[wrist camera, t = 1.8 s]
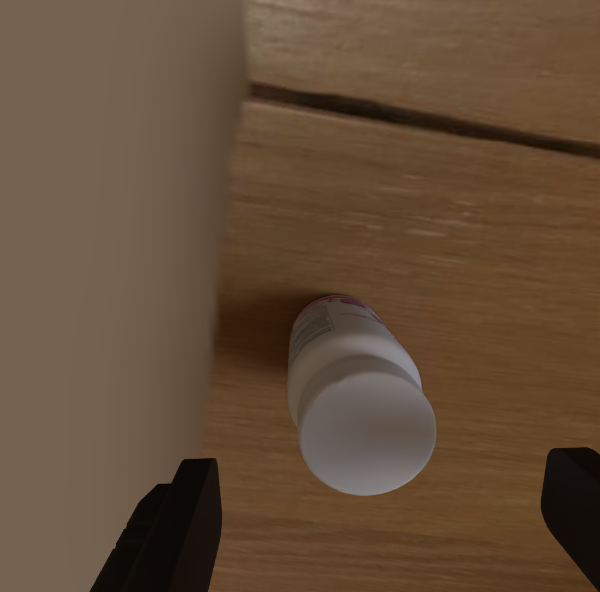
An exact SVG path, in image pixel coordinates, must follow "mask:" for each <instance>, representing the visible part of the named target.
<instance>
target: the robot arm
mask: <svg viewBox="0 0 600 592" xmlns="http://www.w3.org/2000/svg"><path fill="white" fill-rule="evenodd" d="M541 511H542V515H543V518H544V520H545V523H546V525H547V527H548V529H549V530H550V532H551V533H552V535H553V536H554V537H555V538H556V540H557V541H558V542H559V543H560V545H561V546H562V547H563V548H564V549H565V551H566V552H567V553H568V554H569V556H570V557H571V558H572V559H573V561H574V562H575V563H576V564H577V566H578V567H579V568H580V569H581V571H582V572H583V573H584V574H585V575H586V577H587V578H588V579H589V580H590V582H591V583H592V584H593V585H594V587H595V588H596V589H597V590H598V592H600V454H598V453H597V452H596V451H594V450H593V449H590V448H587V447H580V448H554V449H552V450H550V451H549V453H548V456H547V462H546V469H545V476H544V483H543V490H542V496H541ZM221 528H222V507H221V496H220V486H219V475H218V465H217V461H216V459H215V458H205V459H184V460H183V461H182V462H181V464H180V466H179V468H178V470H177V472H176V474H175V477H174V479H173V481H172V483H171V484H157V485H156V486H155V487H154V488H153V489H152V490H151V491H150V492H149V493H148V494H147V495H146V496H145V497H144V498H143V499H142V500H141V501H140V502H139V503H138V505H137V507H136V509H135V510H134V512H133V514H132V516H131V518H130V519H129V521H128V523H127V527H126V529H124V530H123V532H122V534H121V536H120V537H119V539H118V541H117V543H116V548H115V549H113V550H112V552H111V554H110V556H109V557H108V559H107V561H106V563H105V565H104V567H103V568H102V570H101V572H100V574H99V576H98V577H97V579H96V581H95V583H94V585H93V586H92V588H91V590H90V592H208V589H209V585H210V580H211V576H212V572H213V568H214V564H215V559H216V555H217V551H218V547H219V542H220V536H221Z"/></svg>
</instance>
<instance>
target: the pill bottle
mask: <svg viewBox="0 0 600 592" xmlns="http://www.w3.org/2000/svg"><path fill="white" fill-rule="evenodd" d="M287 400H288V406H289V411H290V414H291V417H292V419H293V421H294V423H295V425H296V427H297V428H298V442H299V447H300V451H301V454H302V457H303V459H304V461H305V463H306V465H307V466H308V468H309V469H310V470H311V472H312V473H313V474H314V475H315V476H316V477H317V478H318V479H319V480H321V481H322V482H323V483H325V484H326V485H328V486H329V487H331V488H334V489H336V490H338V491H341V492H344V493H348V494H352V495H362V496H365V495H377V494H381V493H386V492H389V491H392V490H394V489H397V488H399V487H401V486H403V485H404V484H406V483H407V482H409V481H410V480H411V479H413V478H414V477H415V476H416V475H417V474H418V473H419V472H420V471H421V470H422V469H423V468H424V466H425V465H426V464H427V462H428V460H429V459H430V457H431V454H432V452H433V449H434V446H435V441H436V421H435V416H434V413H433V410H432V407H431V405H430V403H429V402H428V400H427V398H426V397H425V395H424V394H423V392H422V386H421V380H420V376H419V373H418V370H417V368H416V366H415V364H414V362H413V361H412V359H411V357H410V356H409V354H408V353H407V352H406V350H405V349H404V348H403V347H402V346H401V344H400V343H399V342H398V341H397V340H396V338H395V337H394V336H393V335H392V334H391V332H390V331H389V330H388V328H387V327H386V326H385V325H384V324H383V322H382V321H381V320H380V319H379V318H378V316H377V315H376V314H375V313H374V312H373V310H372V309H371V308H369V307H368V306H367V305H366V304H364V303H363V302H361V301H359V300H358V299H355V298H352V297H349V296H343V295H332V296H326V297H323V298H320V299H318V300H316V301H314V302H312V303H311V304H309V305H308V306H307V307H305V308H304V309H303V310H302V311H301V313H300V314H299V315H298V316H297V318H296V320H295V322H294V324H293V327H292V330H291V334H290V343H289V361H288V378H287Z"/></svg>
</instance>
